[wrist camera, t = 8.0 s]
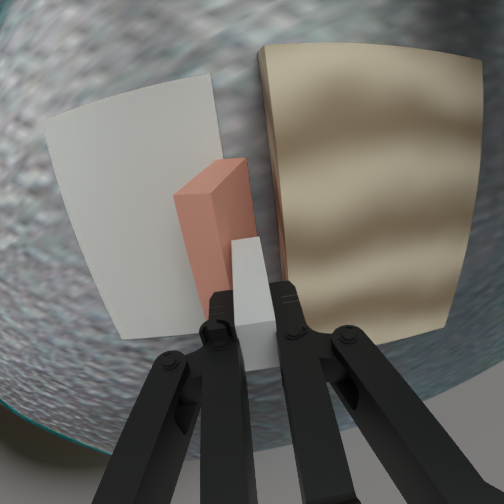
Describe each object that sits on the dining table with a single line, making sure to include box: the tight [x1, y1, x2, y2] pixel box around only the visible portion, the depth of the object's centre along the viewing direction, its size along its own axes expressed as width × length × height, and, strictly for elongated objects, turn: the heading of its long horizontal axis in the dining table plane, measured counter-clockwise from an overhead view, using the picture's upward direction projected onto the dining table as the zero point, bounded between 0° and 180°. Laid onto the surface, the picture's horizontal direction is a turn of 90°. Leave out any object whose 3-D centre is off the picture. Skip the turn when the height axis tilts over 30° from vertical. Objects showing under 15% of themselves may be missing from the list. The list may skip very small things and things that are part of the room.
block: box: [173, 157, 257, 321], centre depth 20 cm, size 9×6×2 cm
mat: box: [42, 74, 223, 340], centre depth 22 cm, size 20×12×1 cm, turn 8°
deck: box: [257, 43, 483, 345], centre depth 21 cm, size 22×14×4 cm, turn 8°
